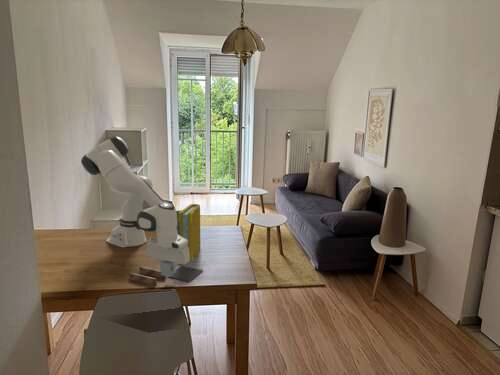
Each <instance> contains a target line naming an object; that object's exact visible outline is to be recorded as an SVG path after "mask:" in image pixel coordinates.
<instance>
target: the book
mask: <svg viewBox="0 0 500 375" xmlns="http://www.w3.org/2000/svg"><path fill="white" fill-rule="evenodd" d="M180 210H181V209H180ZM178 216H179V222H180V236H181V237H183V238H185V239H187V240H188V244H187V246H188V248H189V252H190V260H189V261H193V260H194V258H195V257H196V256H197V254H198V253H199V252H200V251H201V205H200V204H199V203H192V204H189V205H188V206H186V207H185V208H183V209H182V210H181V211H180V212H178Z"/></svg>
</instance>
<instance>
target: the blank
mask: <svg viewBox="0 0 500 375" xmlns="http://www.w3.org/2000/svg"><path fill="white" fill-rule="evenodd" d="M174 265H175V264H173V262H169V261H165V260H162V262H161V268H160V271H161V275H163V276H166V278H169V277H170V276H172V275H173V274H174V273H176V271H172V267H173V266H174Z"/></svg>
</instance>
